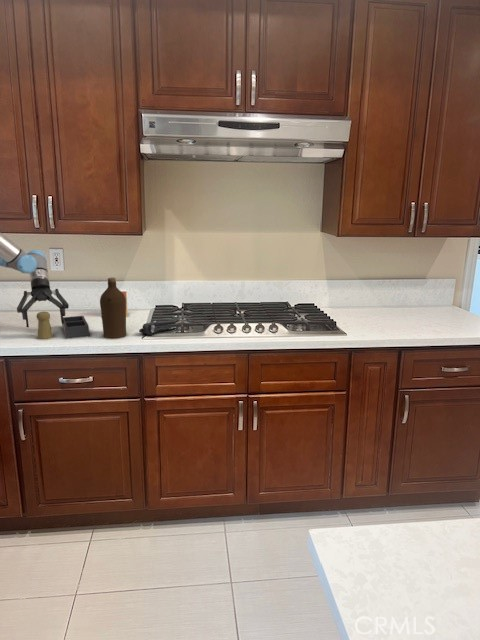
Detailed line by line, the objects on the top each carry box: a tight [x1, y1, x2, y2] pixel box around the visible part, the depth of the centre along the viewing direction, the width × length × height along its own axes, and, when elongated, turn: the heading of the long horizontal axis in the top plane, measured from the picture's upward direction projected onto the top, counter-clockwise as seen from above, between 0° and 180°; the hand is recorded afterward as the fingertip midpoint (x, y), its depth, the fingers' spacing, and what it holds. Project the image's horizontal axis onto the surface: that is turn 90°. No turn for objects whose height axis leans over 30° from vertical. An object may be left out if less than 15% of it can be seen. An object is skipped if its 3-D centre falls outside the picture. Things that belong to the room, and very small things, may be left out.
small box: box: [118, 288, 128, 318], centre depth 230 cm, size 8×6×13 cm
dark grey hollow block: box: [61, 315, 90, 340], centre depth 203 cm, size 9×18×5 cm, turn 25°
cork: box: [36, 311, 54, 340], centre depth 194 cm, size 6×6×11 cm
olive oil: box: [99, 277, 127, 340], centre depth 196 cm, size 11×11×25 cm
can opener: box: [138, 320, 177, 336], centre depth 204 cm, size 18×7×6 cm, turn 131°
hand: (45, 323), depth 194 cm, fingers open, 13 cm apart
